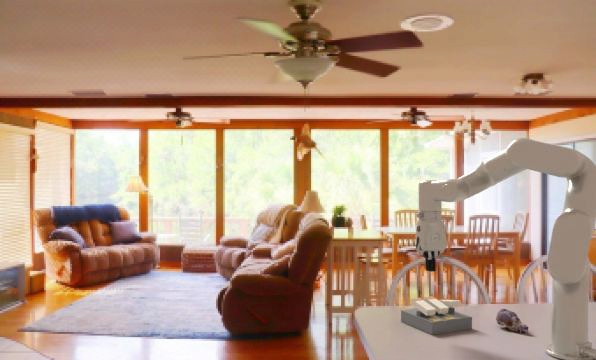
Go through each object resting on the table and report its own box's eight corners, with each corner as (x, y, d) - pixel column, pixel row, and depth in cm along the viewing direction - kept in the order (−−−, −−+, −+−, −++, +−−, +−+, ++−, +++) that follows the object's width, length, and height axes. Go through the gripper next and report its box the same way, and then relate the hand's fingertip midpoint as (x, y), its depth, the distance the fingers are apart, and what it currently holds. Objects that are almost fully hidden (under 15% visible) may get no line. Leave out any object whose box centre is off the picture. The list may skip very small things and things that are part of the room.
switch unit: (472, 328, 177) (472, 312, 177) (431, 334, 170) (432, 318, 170) (439, 316, 193) (439, 301, 193) (401, 321, 186) (401, 306, 186)
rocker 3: (461, 306, 180) (460, 300, 180) (453, 307, 179) (452, 301, 179) (444, 305, 188) (443, 299, 189) (436, 306, 187) (435, 300, 187)
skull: (533, 334, 172) (534, 315, 172) (513, 335, 170) (513, 317, 170) (510, 324, 183) (510, 306, 183) (491, 325, 182) (491, 308, 181)
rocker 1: (435, 314, 176) (436, 308, 176) (426, 315, 174) (427, 309, 174) (418, 302, 184) (419, 297, 184) (410, 303, 182) (411, 298, 182)
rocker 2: (447, 312, 178) (448, 307, 178) (439, 314, 177) (440, 308, 176) (431, 301, 186) (432, 296, 186) (423, 302, 185) (424, 296, 184)
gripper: (419, 218, 169) (419, 274, 169) (455, 216, 175) (455, 270, 175) (405, 216, 176) (405, 271, 176) (440, 215, 182) (440, 267, 182)
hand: (430, 270), depth 176 cm, fingers closed
